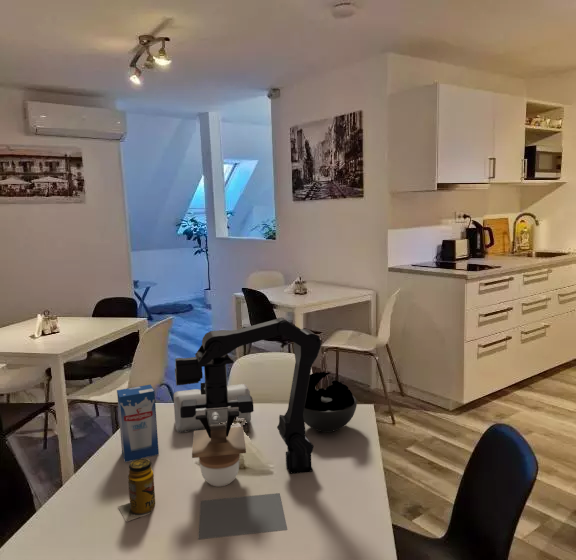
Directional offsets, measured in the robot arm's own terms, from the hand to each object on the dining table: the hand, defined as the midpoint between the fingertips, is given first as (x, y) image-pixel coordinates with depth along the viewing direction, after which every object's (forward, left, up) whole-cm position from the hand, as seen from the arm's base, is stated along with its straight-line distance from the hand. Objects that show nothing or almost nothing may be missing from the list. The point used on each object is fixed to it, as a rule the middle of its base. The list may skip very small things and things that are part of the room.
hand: (218, 436), depth 136 cm
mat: (-5, +16, -13) cm, 21 cm away
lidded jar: (0, 0, -13) cm, 13 cm away
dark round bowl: (-34, -26, -13) cm, 45 cm away
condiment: (+20, +9, -13) cm, 26 cm away
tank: (+2, -36, -13) cm, 38 cm away
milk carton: (+24, -20, -13) cm, 34 cm away
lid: (0, 0, -2) cm, 2 cm away
